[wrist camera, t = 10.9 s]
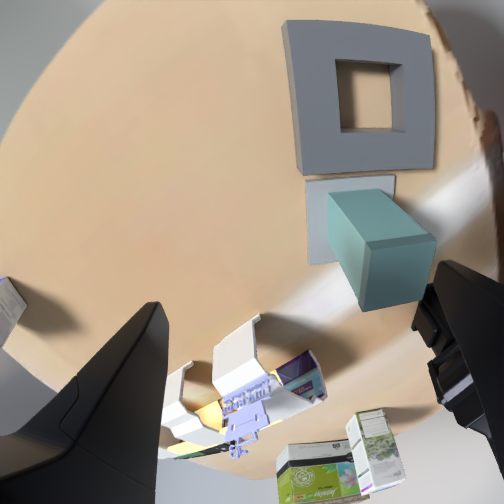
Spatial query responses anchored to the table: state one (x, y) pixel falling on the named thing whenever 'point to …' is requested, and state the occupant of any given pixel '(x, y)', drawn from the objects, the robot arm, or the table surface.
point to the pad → (319, 209)
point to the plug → (379, 248)
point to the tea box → (318, 474)
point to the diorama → (238, 397)
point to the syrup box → (374, 451)
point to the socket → (327, 103)
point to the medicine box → (9, 309)
